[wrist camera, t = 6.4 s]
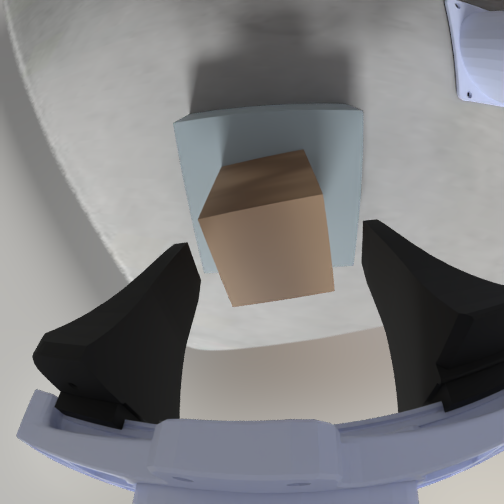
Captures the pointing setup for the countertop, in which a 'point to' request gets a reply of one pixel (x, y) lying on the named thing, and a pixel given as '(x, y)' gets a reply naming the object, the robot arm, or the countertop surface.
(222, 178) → the walnut block
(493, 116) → the countertop surface
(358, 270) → the countertop surface
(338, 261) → the slate block
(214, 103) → the countertop surface
